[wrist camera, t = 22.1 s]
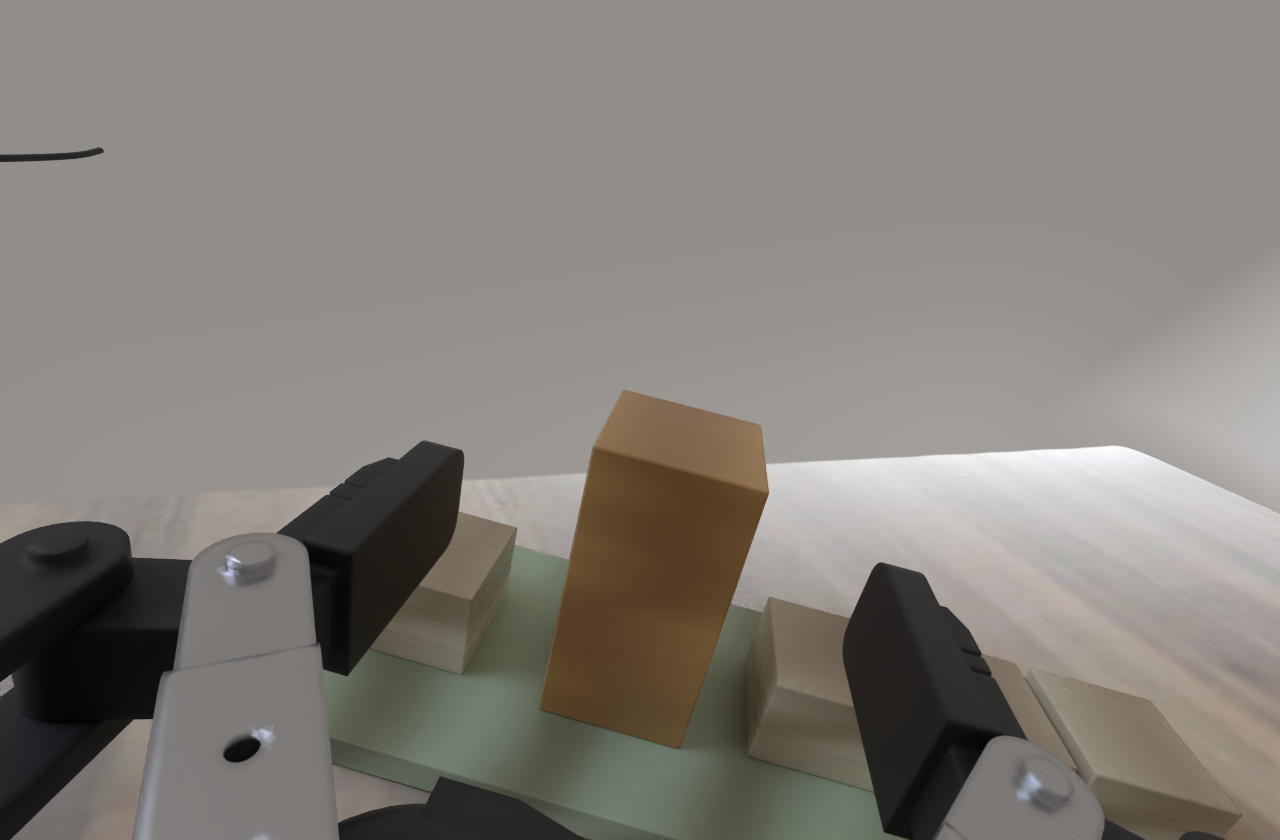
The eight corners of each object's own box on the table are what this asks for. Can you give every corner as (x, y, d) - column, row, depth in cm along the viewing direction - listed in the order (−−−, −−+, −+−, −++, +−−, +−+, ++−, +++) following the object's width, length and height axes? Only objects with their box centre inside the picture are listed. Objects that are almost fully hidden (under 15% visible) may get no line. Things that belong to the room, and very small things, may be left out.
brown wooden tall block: (537, 709, 18) (592, 445, 15) (572, 613, 22) (623, 388, 19) (679, 751, 18) (770, 492, 14) (689, 645, 22) (761, 424, 18)
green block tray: (273, 746, 16) (269, 634, 15) (437, 543, 26) (446, 461, 24) (1243, 1033, 15) (1349, 943, 14) (1049, 711, 24) (1099, 636, 23)
